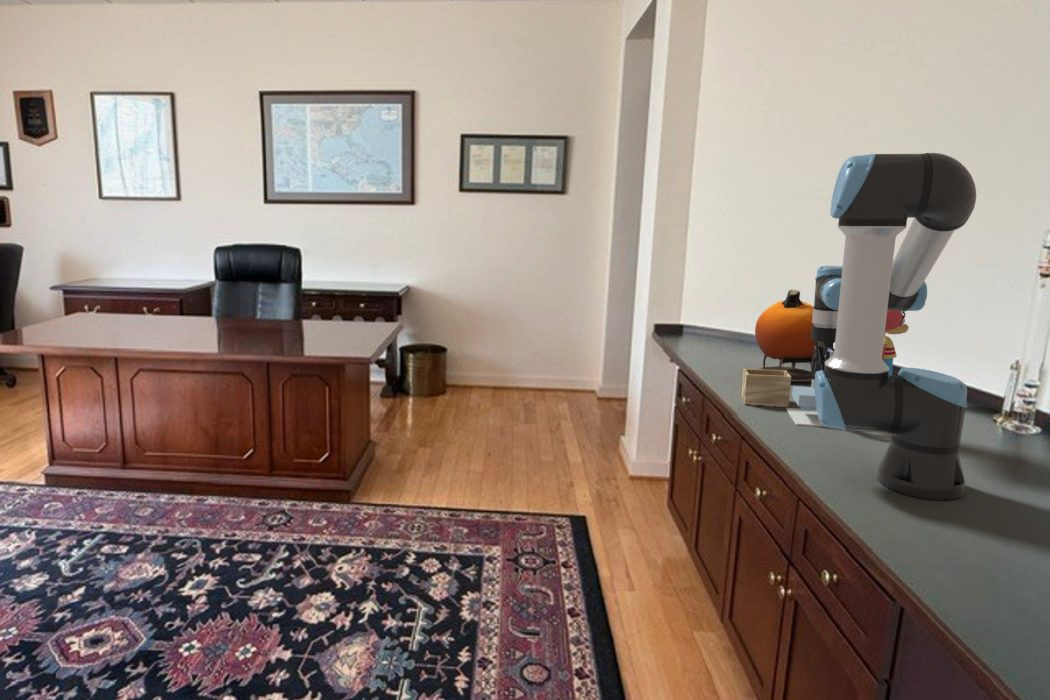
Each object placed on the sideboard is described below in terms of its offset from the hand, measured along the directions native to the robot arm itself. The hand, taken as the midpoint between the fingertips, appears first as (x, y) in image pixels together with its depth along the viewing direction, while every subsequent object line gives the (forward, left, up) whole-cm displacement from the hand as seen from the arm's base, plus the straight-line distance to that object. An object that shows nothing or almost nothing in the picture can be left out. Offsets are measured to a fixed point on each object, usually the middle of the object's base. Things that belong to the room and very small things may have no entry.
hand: (819, 408), depth 171 cm
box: (+13, +12, -3) cm, 18 cm away
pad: (0, 0, -3) cm, 3 cm away
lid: (0, 0, +2) cm, 2 cm away
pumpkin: (+46, 0, -3) cm, 46 cm away
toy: (+28, -24, -3) cm, 37 cm away
